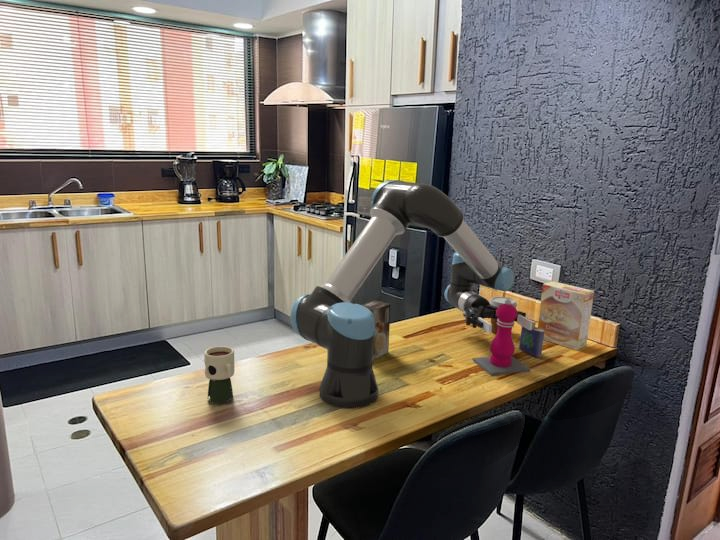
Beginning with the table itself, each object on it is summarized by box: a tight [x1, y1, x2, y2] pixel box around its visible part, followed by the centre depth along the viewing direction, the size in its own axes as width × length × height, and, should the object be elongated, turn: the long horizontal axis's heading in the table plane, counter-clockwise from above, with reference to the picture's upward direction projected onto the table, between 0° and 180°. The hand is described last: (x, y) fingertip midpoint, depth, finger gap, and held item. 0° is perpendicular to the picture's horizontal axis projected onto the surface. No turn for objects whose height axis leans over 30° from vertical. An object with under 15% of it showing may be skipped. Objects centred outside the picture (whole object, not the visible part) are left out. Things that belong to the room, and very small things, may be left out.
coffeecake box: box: [537, 280, 595, 351], centre depth 185 cm, size 15×7×20 cm, turn 42°
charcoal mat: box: [471, 355, 531, 376], centre depth 165 cm, size 13×11×1 cm
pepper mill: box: [489, 299, 518, 367], centre depth 162 cm, size 7×7×20 cm
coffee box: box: [361, 299, 392, 361], centre depth 168 cm, size 9×6×16 cm
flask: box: [518, 321, 544, 359], centre depth 175 cm, size 9×3×11 cm, turn 25°
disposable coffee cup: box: [489, 296, 518, 335], centre depth 192 cm, size 10×10×12 cm
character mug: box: [203, 345, 235, 404], centre depth 136 cm, size 11×7×13 cm, turn 41°
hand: (511, 327), depth 159 cm, fingers open, 13 cm apart
